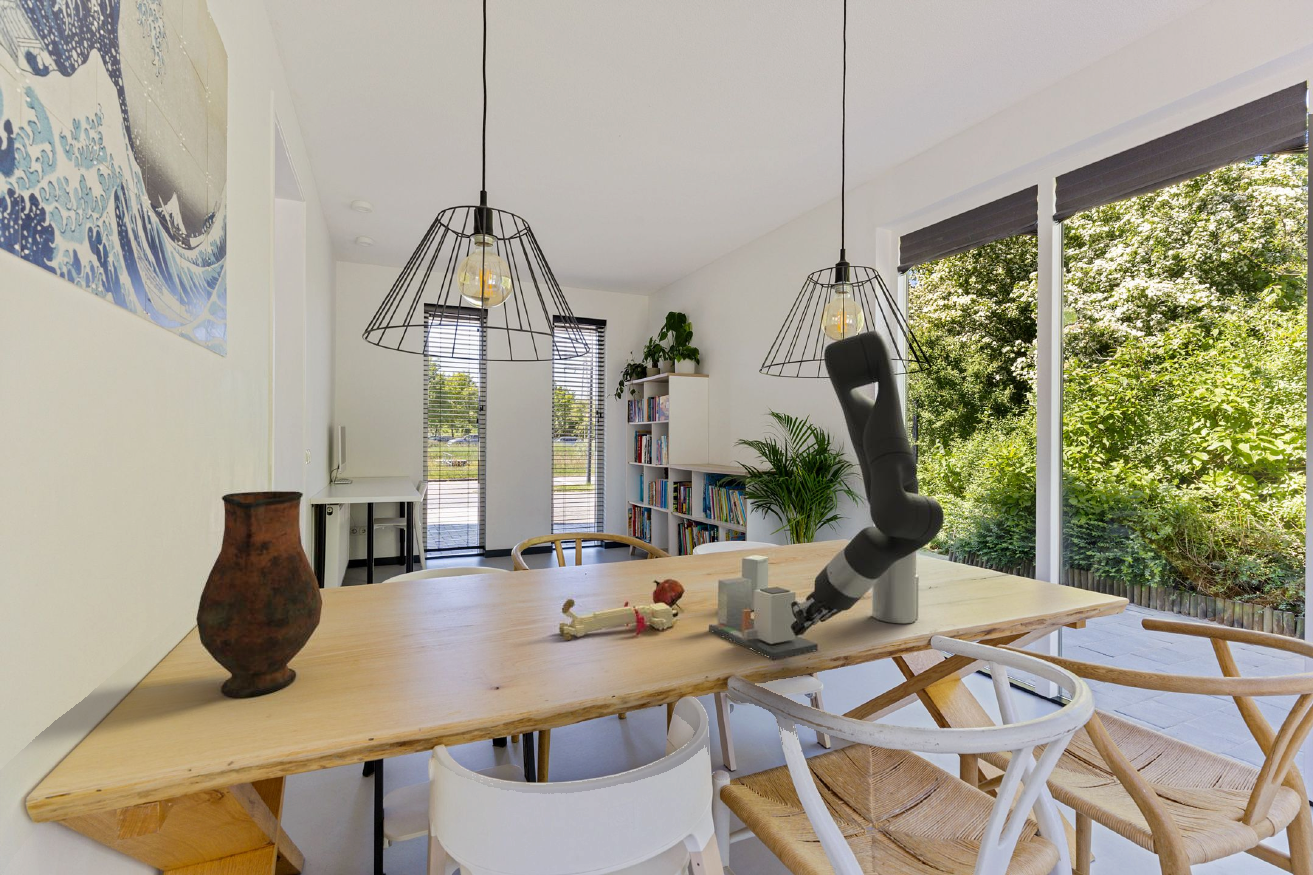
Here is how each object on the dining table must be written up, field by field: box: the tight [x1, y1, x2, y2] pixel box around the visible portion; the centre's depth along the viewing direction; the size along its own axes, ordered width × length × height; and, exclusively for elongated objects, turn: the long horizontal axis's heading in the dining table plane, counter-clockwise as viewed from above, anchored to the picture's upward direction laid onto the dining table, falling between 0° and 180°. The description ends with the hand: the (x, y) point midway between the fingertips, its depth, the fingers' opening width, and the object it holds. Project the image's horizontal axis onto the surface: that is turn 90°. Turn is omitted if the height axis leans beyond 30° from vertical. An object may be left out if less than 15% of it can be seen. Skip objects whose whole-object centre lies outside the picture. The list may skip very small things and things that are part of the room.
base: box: [708, 576, 819, 660], centre depth 124 cm, size 11×20×10 cm, turn 31°
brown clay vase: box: [196, 490, 323, 699], centre depth 101 cm, size 17×21×30 cm
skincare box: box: [741, 554, 770, 611], centre depth 149 cm, size 6×4×12 cm
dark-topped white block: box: [744, 586, 797, 644], centre depth 120 cm, size 8×5×9 cm, turn 121°
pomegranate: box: [652, 578, 686, 613], centre depth 146 cm, size 7×7×10 cm
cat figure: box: [558, 598, 681, 642], centre depth 129 cm, size 10×9×25 cm
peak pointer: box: [742, 609, 752, 637], centre depth 121 cm, size 1×1×5 cm, turn 120°
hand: (795, 630), depth 116 cm, fingers closed
